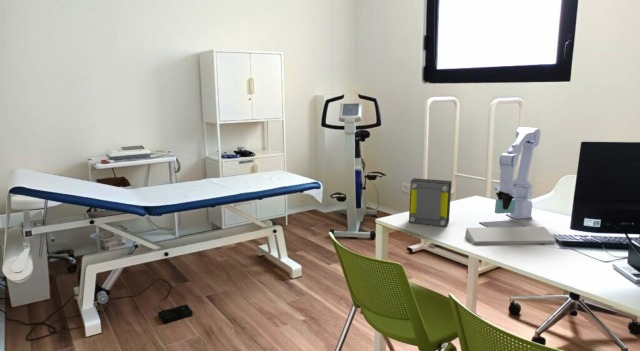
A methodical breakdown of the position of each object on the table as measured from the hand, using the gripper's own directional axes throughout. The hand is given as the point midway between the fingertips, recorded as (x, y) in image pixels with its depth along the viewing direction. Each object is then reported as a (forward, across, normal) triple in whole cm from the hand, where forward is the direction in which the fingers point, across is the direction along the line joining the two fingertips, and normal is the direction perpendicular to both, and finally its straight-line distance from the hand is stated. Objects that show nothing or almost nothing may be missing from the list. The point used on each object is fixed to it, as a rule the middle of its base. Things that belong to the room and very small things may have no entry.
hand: (504, 208), depth 212 cm
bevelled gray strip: (+9, +19, -10) cm, 23 cm away
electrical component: (+8, -11, -32) cm, 35 cm away
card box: (+2, 0, 0) cm, 2 cm away
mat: (+8, +2, 0) cm, 8 cm away
